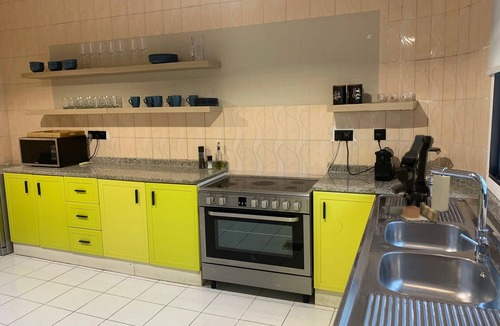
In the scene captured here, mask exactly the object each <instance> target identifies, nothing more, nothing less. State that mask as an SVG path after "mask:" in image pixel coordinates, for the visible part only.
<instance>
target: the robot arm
mask: <svg viewBox="0 0 500 326" xmlns="http://www.w3.org/2000/svg"><path fill="white" fill-rule="evenodd" d="M434 140H435V139H434V137H432V135H425V134H416V135H415V136H414V140H413V142H412V144H411V146H410V149H409V150H408V151H406V152H404V155H402V157H401V161H400V163H399V167H398V169H400V171H398V173H397V174H396V179H397V180H398V182H400V183H399V184H396V185H393V186H391V187H390V188H391V191H392V193H393V194H394V195H399V196H400V197H401V198H402V199H403V201H404V206H416V207H418V208H420V202H425V205H427V206H428V207H430V206H429V205H428V203H429V202H428V199H429V198H430V197H431V196H432V191H431V189H430V186H429V181H428V179H427V170H428V160H429V159H428V158H429V151H430V150H431V149H432V148H433V145H434V142H435V141H434ZM416 172H417V175H416Z"/></svg>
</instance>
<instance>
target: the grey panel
mask: <svg viewBox="0 0 500 326" xmlns="http://www.w3.org/2000/svg"><path fill="white" fill-rule="evenodd" d="M381 208H382V210H383V209H384V211H386V206H381ZM389 214H391V215H393V216H395V217H396V218H397V219H399V220H400V219H401V220H400V221H402V222H403V223H405V224H406V223H409V224H410V223H421V222H420V220H426V221H431V222H430V223H435V222H434V221H432V220H431V219H429V218H428V217H426V216H425V215H423V214H420V217H418V218H408V217H406V216H404V215H403V206H390V213H389ZM408 220H410V221H408Z"/></svg>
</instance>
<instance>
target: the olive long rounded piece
mask: <svg viewBox="0 0 500 326" xmlns="http://www.w3.org/2000/svg"><path fill="white" fill-rule="evenodd" d="M422 205H425V202H420V207H419V208H420V214H422ZM385 207H386V210H384V211H385V213H384V214H385V215H387V216H389V215H390V214H391V213H390V207H391V203H390V202H386V203H385Z"/></svg>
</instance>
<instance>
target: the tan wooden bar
mask: <svg viewBox="0 0 500 326" xmlns="http://www.w3.org/2000/svg"><path fill="white" fill-rule="evenodd" d="M428 206H429V205H428V204H427V205H422V214H423V215H425V216H426V217H428V218H429V219H431V220H432V221H434V222H433V223H438V222H437V221H438V218H439V213H438V212H439V211H436V210H433V209H431V206H429V207H428Z"/></svg>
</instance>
